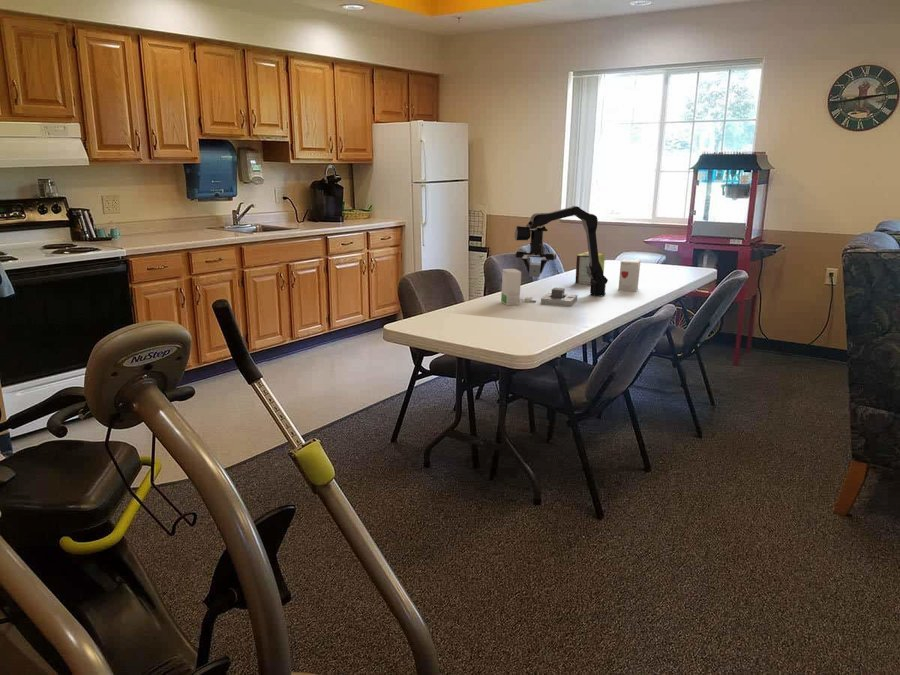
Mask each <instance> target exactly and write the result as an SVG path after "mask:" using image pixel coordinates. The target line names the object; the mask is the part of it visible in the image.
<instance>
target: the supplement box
mask: <svg viewBox="0 0 900 675" xmlns="http://www.w3.org/2000/svg"><path fill="white" fill-rule="evenodd" d="M641 261H642V260H640V259H630V258H629V259H627V258H622V259H621V261H620V267H619V268H620V269H619V277H618V278H619V280H618V291H626V292H637V290H638V288H639V278H640V269H641V268H640V267H641Z"/></svg>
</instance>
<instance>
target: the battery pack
mask: <svg viewBox="0 0 900 675" xmlns="http://www.w3.org/2000/svg"><path fill="white" fill-rule="evenodd" d="M540 267H541V262H536V261H535V262H534V261H533V262H532V261H530V266H529V273H528V277H530V278H531V277H533V278H540V277H541V274H540Z"/></svg>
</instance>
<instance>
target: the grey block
mask: <svg viewBox="0 0 900 675" xmlns="http://www.w3.org/2000/svg"><path fill="white" fill-rule="evenodd" d="M551 293H552V295H551V297H554V298H564V294H565V288H562V287H553V288H552V289H551Z"/></svg>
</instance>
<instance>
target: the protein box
mask: <svg viewBox="0 0 900 675" xmlns="http://www.w3.org/2000/svg"><path fill="white" fill-rule="evenodd" d="M605 257H606V253H605V252H598V258H599V262H600V265H601V267H602V270H603V275H604V272H605V260H606V258H605ZM575 263H576V264H575V265H576V266H575V282H574V283H575V284H576V285H577V284H578V285H586V286H591V285H592V282H593V281H592V280H591V278H590V277H589V276H588V274H587V269H586V265H589V252H588V251H586V252H582V253H579V254H577V255H576V262H575ZM604 276H605V275H604Z"/></svg>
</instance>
